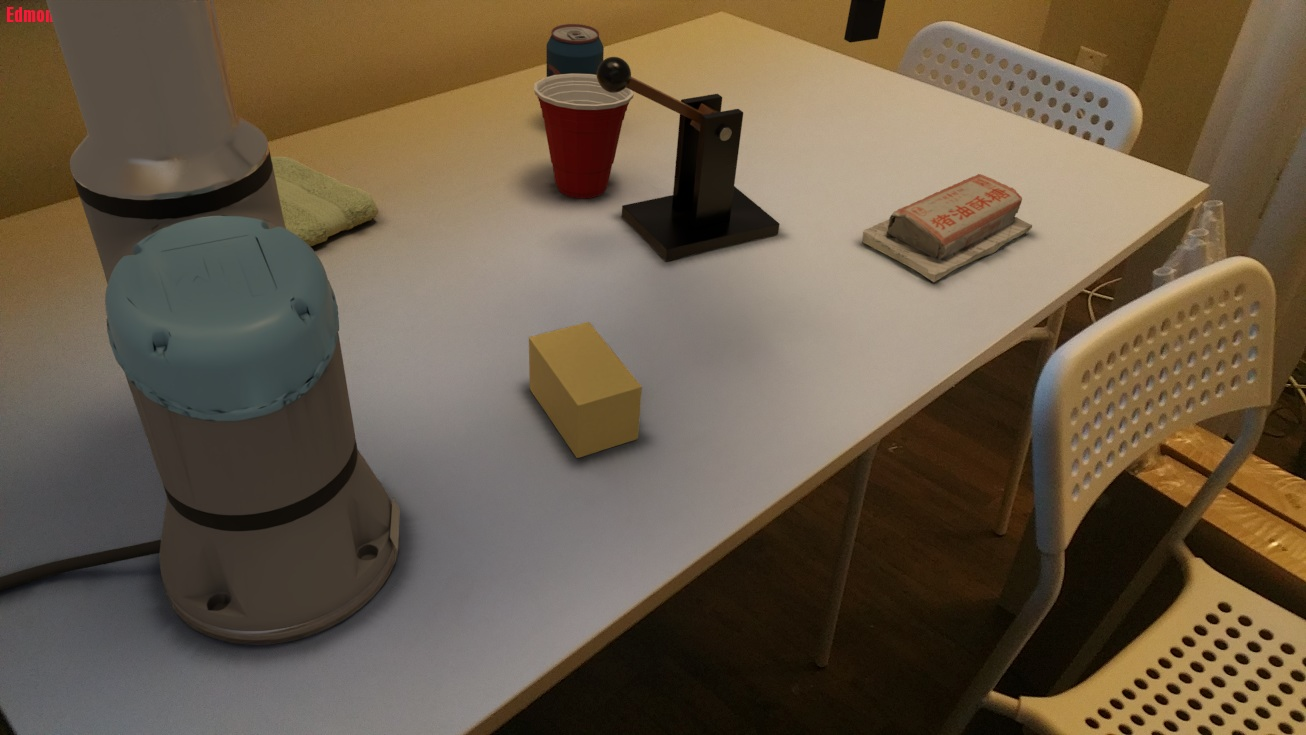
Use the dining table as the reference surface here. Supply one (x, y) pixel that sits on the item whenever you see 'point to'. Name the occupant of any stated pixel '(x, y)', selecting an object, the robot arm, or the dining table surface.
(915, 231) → the packaged product
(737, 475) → the dining table surface
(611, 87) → the arm
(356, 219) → the washcloth
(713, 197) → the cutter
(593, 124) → the plastic cup
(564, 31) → the soda can
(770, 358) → the dining table surface
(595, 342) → the butter
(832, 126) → the dining table surface
